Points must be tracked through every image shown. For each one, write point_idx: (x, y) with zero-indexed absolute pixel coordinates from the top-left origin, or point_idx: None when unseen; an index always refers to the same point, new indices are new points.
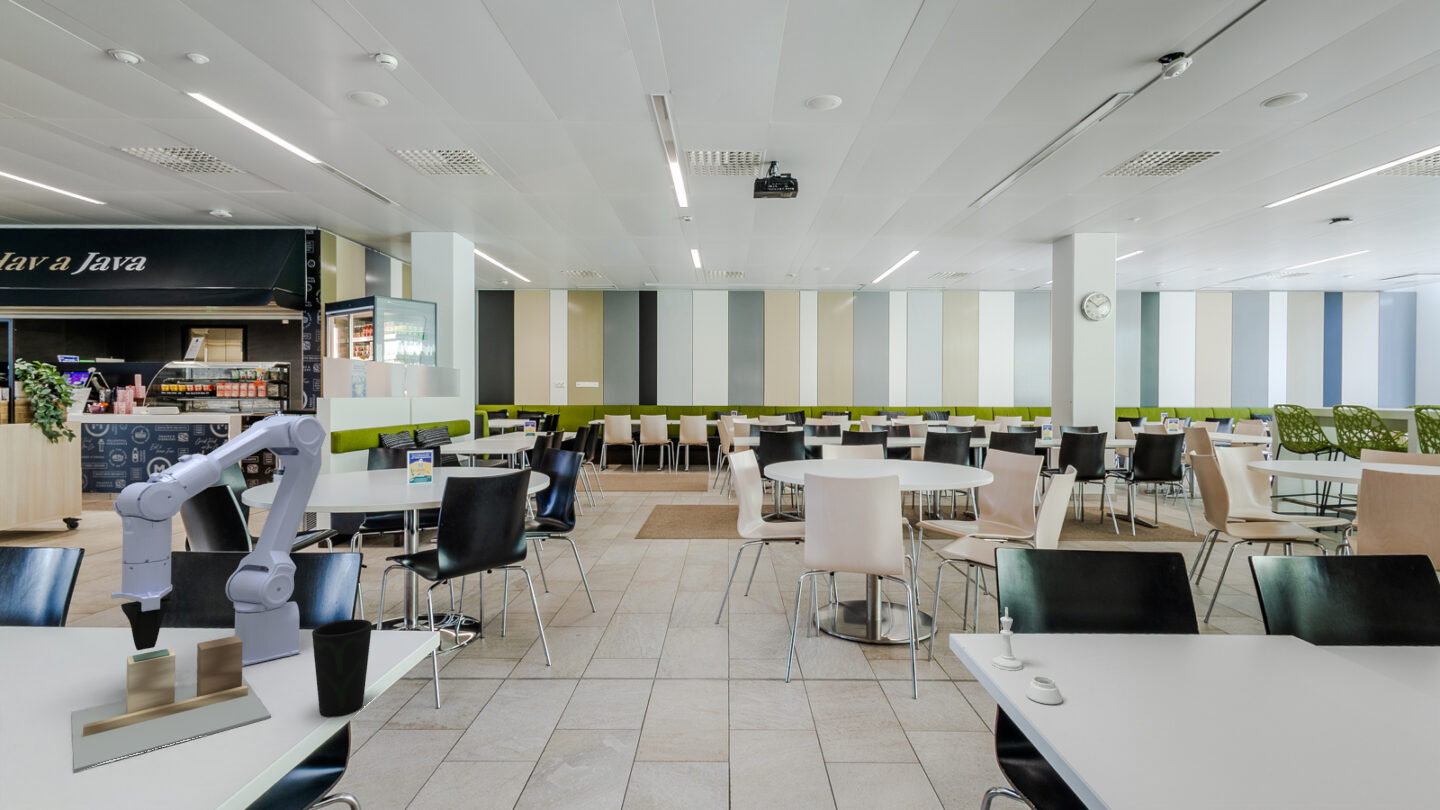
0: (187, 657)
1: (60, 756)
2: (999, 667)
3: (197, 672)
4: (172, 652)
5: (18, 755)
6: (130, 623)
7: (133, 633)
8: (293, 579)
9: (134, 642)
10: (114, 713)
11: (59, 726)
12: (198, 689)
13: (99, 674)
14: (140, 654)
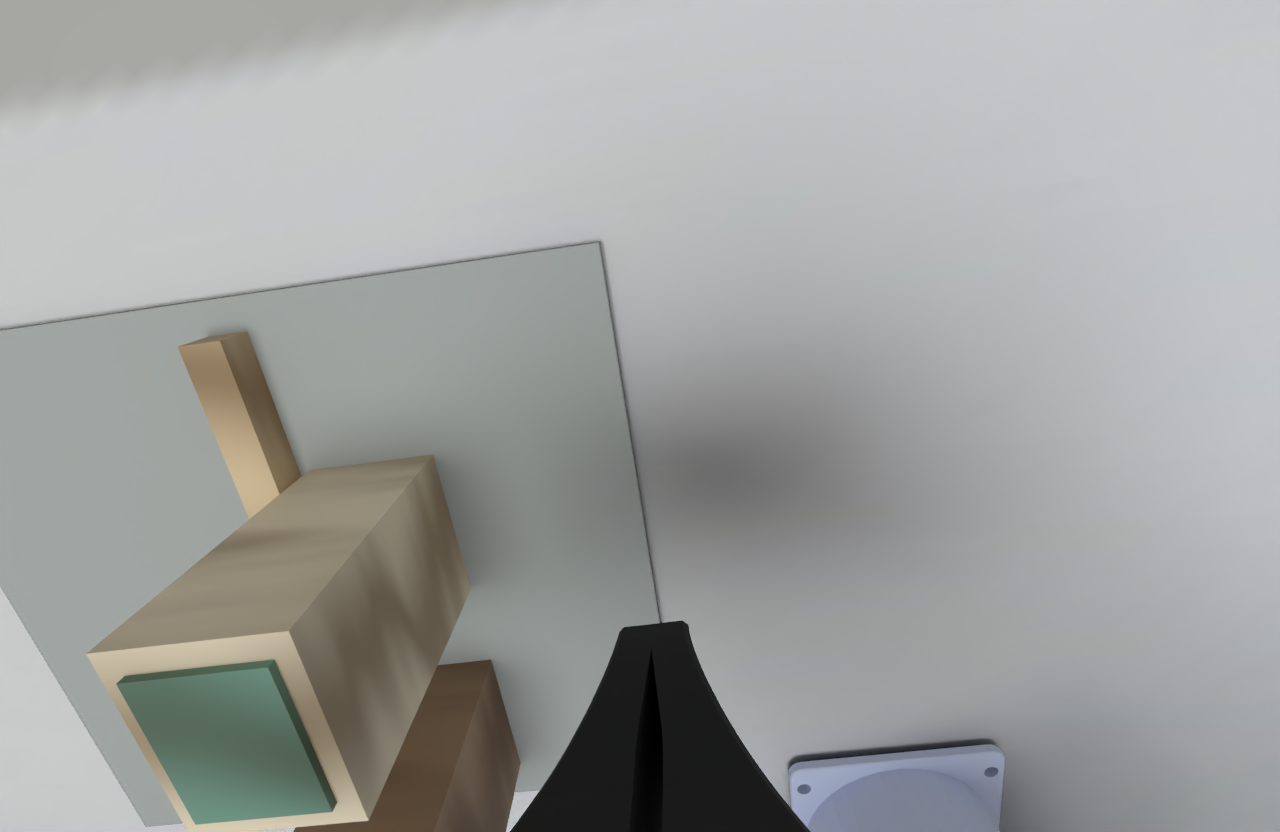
0: (1151, 612)
1: (66, 278)
2: None
3: (448, 749)
4: (263, 824)
5: (149, 111)
6: (518, 822)
7: (578, 728)
8: None
9: (613, 662)
10: (448, 415)
11: (456, 216)
12: (428, 696)
13: (1237, 277)
14: (267, 702)
